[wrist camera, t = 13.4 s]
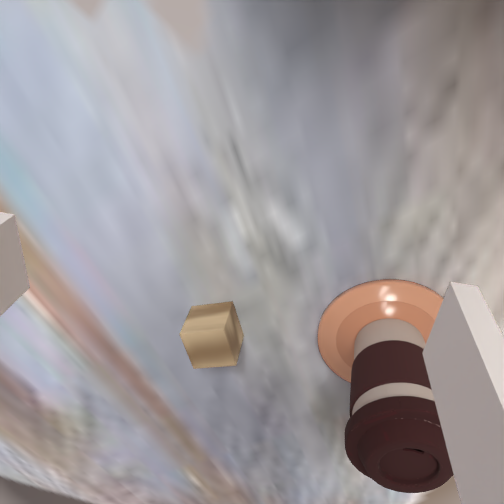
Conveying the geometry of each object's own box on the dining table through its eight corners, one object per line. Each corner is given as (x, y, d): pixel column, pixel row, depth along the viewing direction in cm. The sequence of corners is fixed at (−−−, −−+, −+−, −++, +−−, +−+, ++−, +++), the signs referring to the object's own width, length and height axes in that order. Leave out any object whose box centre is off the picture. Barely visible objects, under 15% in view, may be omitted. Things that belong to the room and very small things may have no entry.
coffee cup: (383, 388, 52) (400, 518, 39) (323, 339, 49) (320, 460, 37) (456, 346, 47) (503, 477, 34) (394, 289, 45) (419, 408, 32)
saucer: (331, 268, 46) (331, 274, 45) (479, 292, 45) (482, 298, 44) (308, 372, 54) (308, 378, 53) (434, 394, 52) (436, 401, 52)
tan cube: (192, 305, 51) (179, 334, 47) (232, 301, 50) (223, 329, 46) (204, 338, 54) (193, 368, 49) (243, 335, 52) (236, 365, 48)
